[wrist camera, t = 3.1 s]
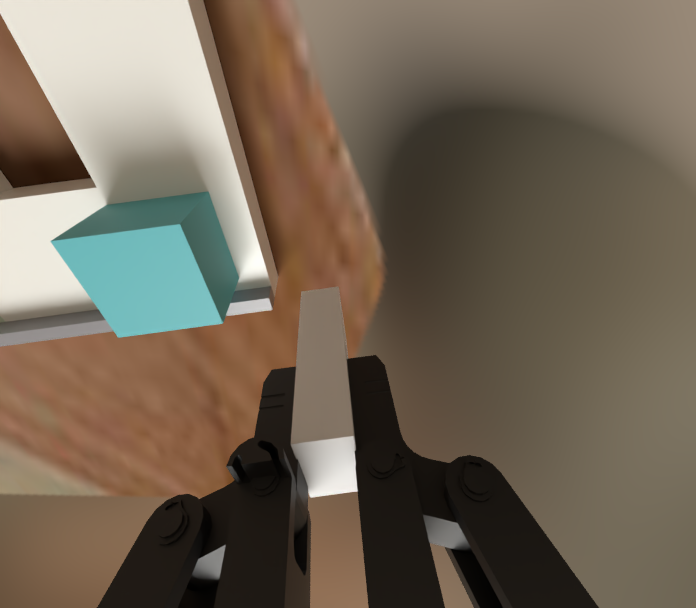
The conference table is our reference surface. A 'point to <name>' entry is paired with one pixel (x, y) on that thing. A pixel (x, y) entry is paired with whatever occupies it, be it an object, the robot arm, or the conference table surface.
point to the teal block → (153, 263)
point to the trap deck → (123, 150)
